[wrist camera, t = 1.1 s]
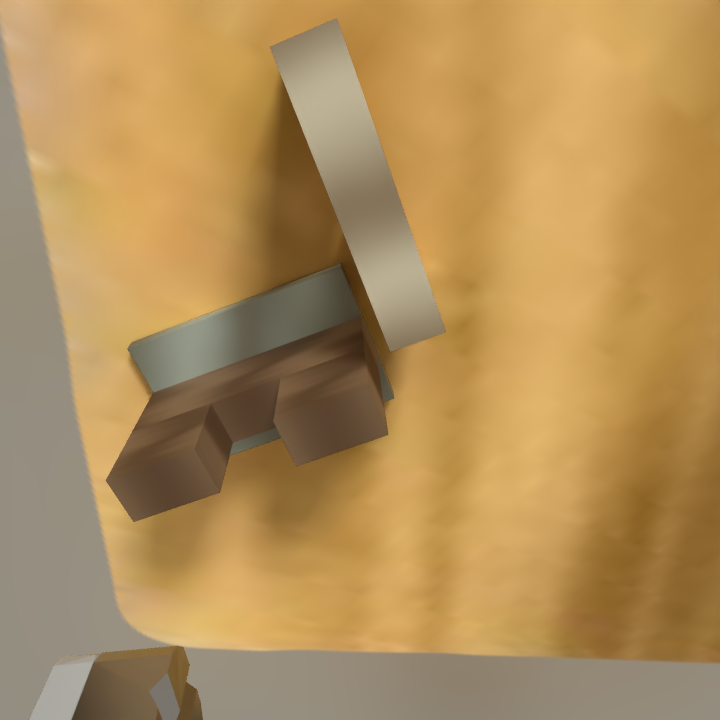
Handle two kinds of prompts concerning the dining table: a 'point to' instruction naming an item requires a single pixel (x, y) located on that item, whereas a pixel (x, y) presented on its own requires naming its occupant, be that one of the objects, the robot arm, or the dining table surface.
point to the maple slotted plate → (358, 181)
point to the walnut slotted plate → (251, 390)
